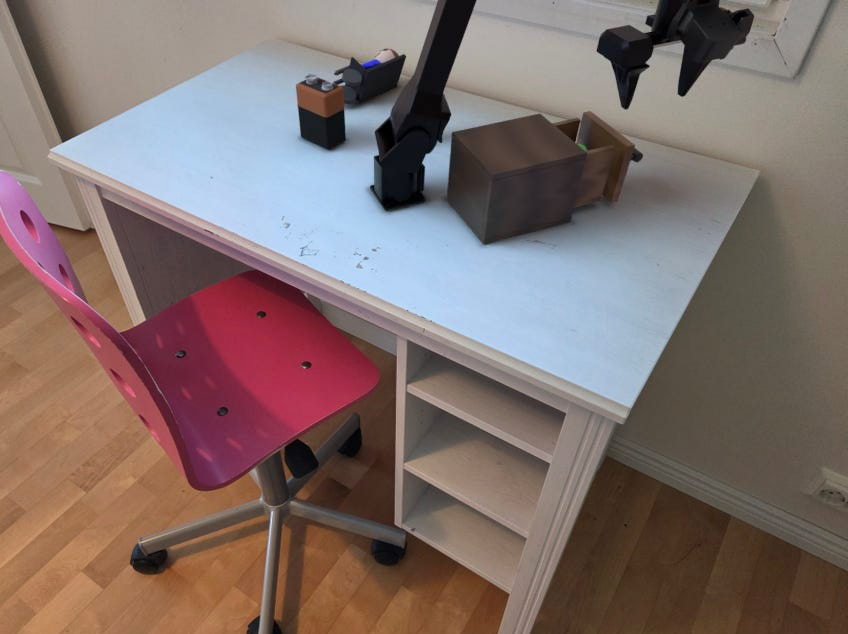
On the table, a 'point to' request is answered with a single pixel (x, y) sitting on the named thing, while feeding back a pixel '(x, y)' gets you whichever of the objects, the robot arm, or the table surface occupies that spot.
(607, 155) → the drawer
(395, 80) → the character figurine
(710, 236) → the table surface
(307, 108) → the battery
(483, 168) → the cabinet
